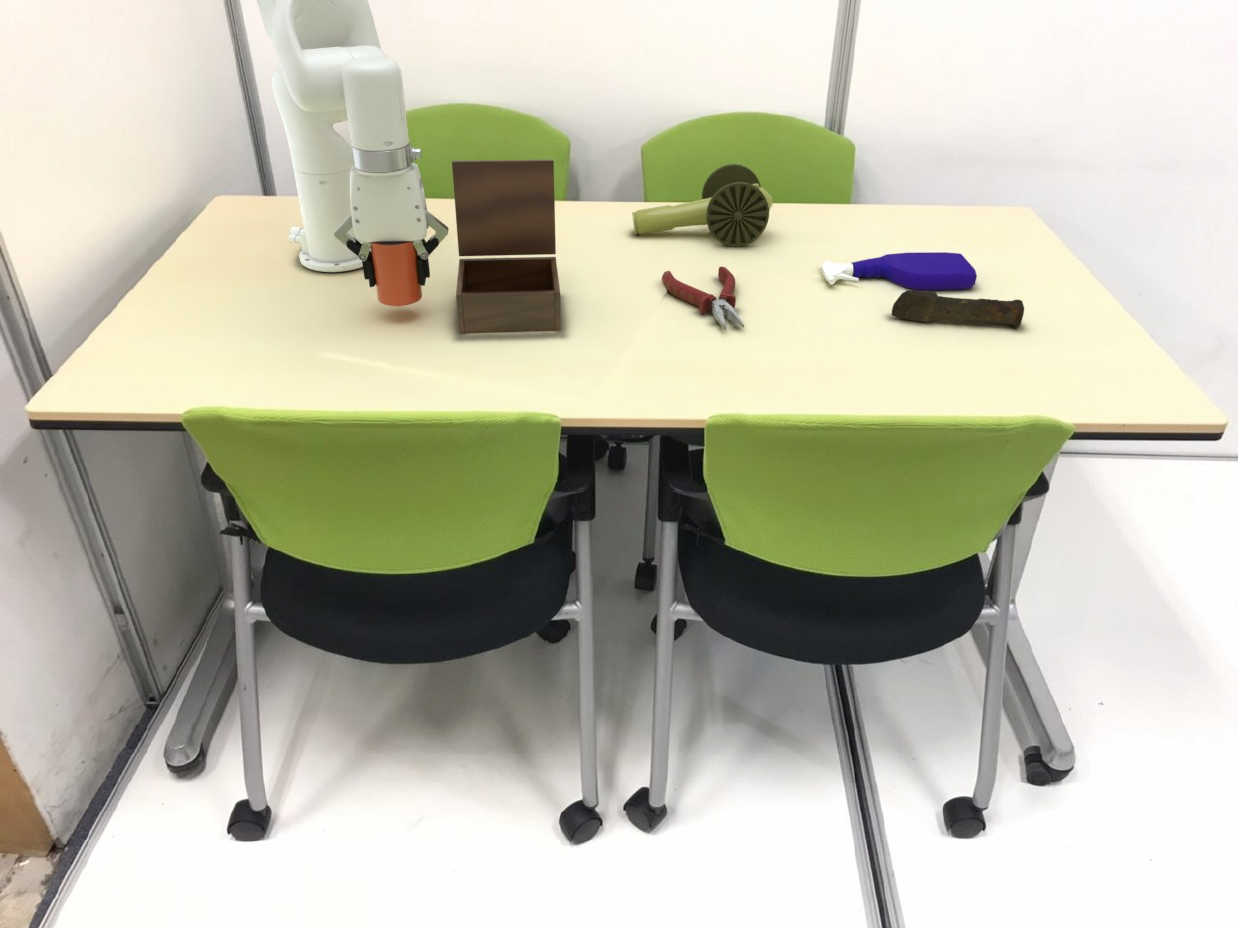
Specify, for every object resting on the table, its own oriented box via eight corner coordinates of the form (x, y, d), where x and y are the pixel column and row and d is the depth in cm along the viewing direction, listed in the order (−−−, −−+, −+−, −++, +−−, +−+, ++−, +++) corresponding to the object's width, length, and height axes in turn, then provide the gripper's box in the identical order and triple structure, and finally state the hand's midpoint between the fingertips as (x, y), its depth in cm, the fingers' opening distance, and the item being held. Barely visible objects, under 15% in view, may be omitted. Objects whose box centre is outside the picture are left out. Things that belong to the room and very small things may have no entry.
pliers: (697, 338, 135) (698, 322, 134) (659, 283, 151) (659, 268, 150) (770, 331, 138) (772, 315, 136) (725, 278, 154) (727, 263, 152)
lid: (553, 160, 135) (552, 153, 139) (451, 161, 133) (453, 154, 138) (555, 254, 141) (554, 244, 146) (458, 256, 140) (460, 246, 144)
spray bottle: (960, 249, 158) (817, 250, 157) (983, 275, 149) (831, 276, 148) (956, 266, 160) (814, 267, 159) (978, 292, 151) (828, 294, 150)
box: (560, 335, 135) (560, 292, 131) (459, 338, 134) (455, 294, 130) (556, 297, 146) (555, 256, 142) (462, 299, 144) (459, 258, 141)
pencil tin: (369, 302, 134) (360, 242, 129) (391, 285, 139) (384, 227, 134) (409, 309, 133) (401, 248, 128) (430, 291, 138) (423, 232, 133)
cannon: (632, 246, 164) (633, 182, 158) (631, 222, 174) (632, 161, 167) (772, 248, 165) (780, 185, 158) (764, 224, 174) (770, 163, 168)
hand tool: (1014, 320, 143) (1022, 291, 140) (1020, 331, 139) (1028, 303, 137) (889, 310, 145) (894, 283, 142) (891, 322, 141) (897, 293, 139)
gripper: (448, 149, 129) (459, 271, 139) (320, 151, 127) (341, 274, 137) (446, 165, 122) (457, 291, 132) (311, 167, 121) (333, 295, 131)
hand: (398, 281), depth 135 cm, fingers closed on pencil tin, 6 cm apart
